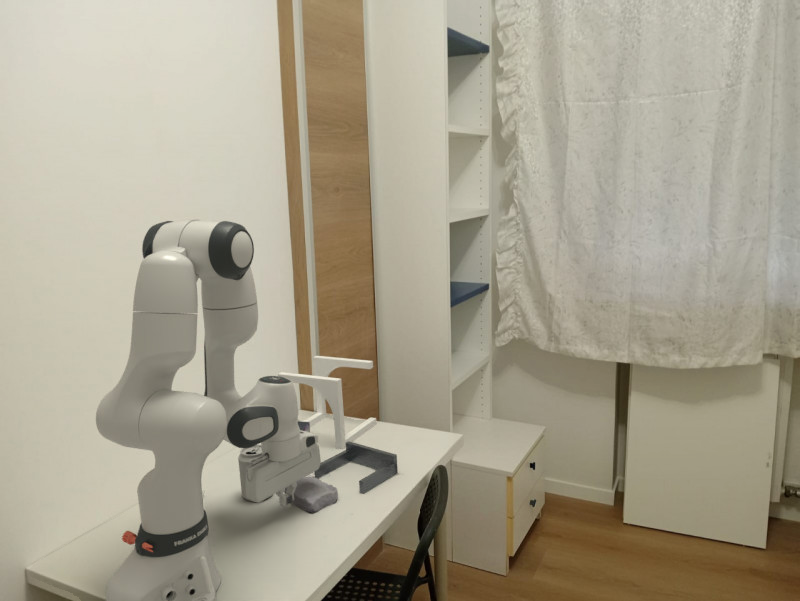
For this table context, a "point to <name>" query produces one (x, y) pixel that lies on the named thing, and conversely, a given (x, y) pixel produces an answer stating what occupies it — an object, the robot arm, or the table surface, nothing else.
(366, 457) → the grey u-shaped bracket
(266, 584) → the table surface
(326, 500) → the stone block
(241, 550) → the table surface
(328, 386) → the white open frame
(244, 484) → the can
